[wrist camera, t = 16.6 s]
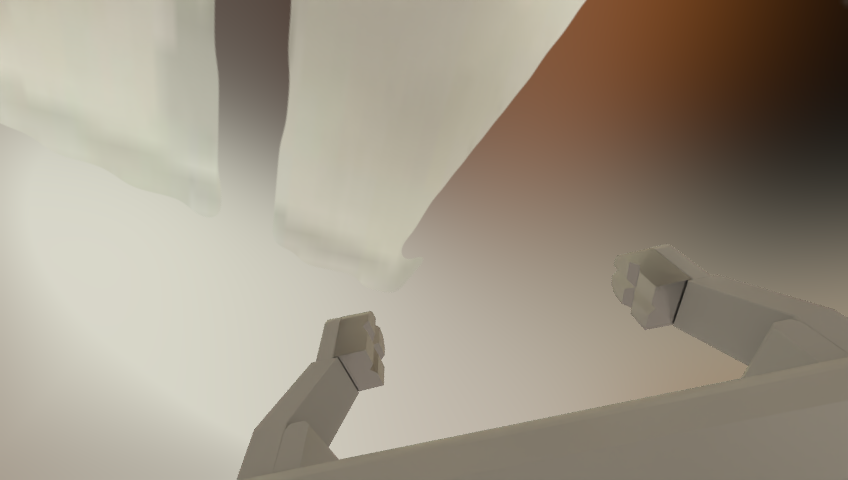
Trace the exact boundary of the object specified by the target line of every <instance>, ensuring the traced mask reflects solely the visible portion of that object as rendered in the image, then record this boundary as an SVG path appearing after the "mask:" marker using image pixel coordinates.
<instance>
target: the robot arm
mask: <svg viewBox="0 0 848 480" xmlns="http://www.w3.org/2000/svg"><path fill="white" fill-rule="evenodd" d="M614 266H615V267H616V268H617V269H618V270H617V271H616V272H615V273H614V275H613V276H612V287H613V291H614V293H615V295H616V297H617V298H618V299H619V301H620V302H621V303H622V304H624V305H627V306H629V307H631V315H632V316H633V317H634V318H635V319H636V320H637V321H638V323H639V324H640V325H641V326H642V327H643V328H644V329H645V330H646V329H652V328H657V327H663V326H668V325H673V324H674V325H673V326H674V327H676V328H678V329H680V330H682V331H684V332H686V333H688V334H690V335H691V336H693V337H695V338H697V339H699V340H701V341H703V342H705V343H706V344H708V345H710V346H712V347H714V348H716V349H718V350H720V351H721V352H723V353H725V354H727V355H729V356H731V357H733V358H735V359H736V360H739V361H740V362H742V363H744V364H746V365H748V367H747V369H746V371H745V372H744V374H743V376H742V378H741V379H736V380H731V381H726V382H721V383H716V384H711V385H706V386H701V387H696V388H692V389H686V390H681V391H676V392H671V393H666V394H661V395H657V396H651V397H647V398H642V399H637V400H632V401H627V402H622V403H617V404H612V405H607V406H602V407H597V408H592V409H588V410H582V411H577V412H572V413H567V414H563V415H558V416H553V417H548V418H543V419H538V420H533V421H528V422H523V423H519V424H513V425H509V426H503V427H499V428H494V429H489V430H484V431H479V432H474V433H469V434H464V435H459V436H454V437H450V438H444V439H439V440H434V441H429V442H425V443H419V444H415V445H410V446H405V447H400V448H395V449H390V450H385V451H380V452H375V453H370V454H365V455H360V456H355V457H350V458H345V459H340V460H339V459H338V458H337V457H336V456H335V455H334V454H333V452H332V451H331V450H330V449H329V445H330V444H331V442H332V440H333V438H334V436H335V435H336V433H337V431H338V429H339V427H340V426H341V424H342V422H343V420H344V419H345V417H346V415H347V413H348V411H349V409H350V408H351V406H352V404H353V402H354V400H355V399H356V397H357V395H358V393H359V392H358V391H362V390H366V389H370V388H374V387H378V386H382V385H384V365H383V363H382V361H381V359H382V358H383V356H384V353H385V351H384V350H385V347H384V339H383V335H382V332H381V330H380V328H379V327H378V326H376V325H375V320H376V319H375V316H374V314H373V312H371V311H369V312H364V313H359V314H354V315H348V316H344V317H341V318H335V319H330V320H327V322H326V323H325V326H324V330H323V334H322V338H321V343H320V347H319V351H318V355H317V360H316V362H313V363H311V364H310V365H309V367H308V368H307V369H306V370H305V371H304V372H303V373H302V375H301V376H300V377H299V378H298V379H297V380H296V382H295V383H294V384H293V385H292V386H291V388H290V389H289V390H288V391H287V392H286V393H285V394H284V396H283V397H282V398H281V399H280V400H279V401H278V403H277V404H276V405H275V406H274V407H273V408H272V410H271V411H270V412H269V413H268V414H267V415H266V417H265V418H264V419H263V420H262V421H261V422H260V424H259V425H258V426H257V427H256V428H255V429H254V432H253V435H252V438H251V441H250V443H249V446H248V449H247V452H246V455H245V457H244V460H243V463H242V466H241V469H240V471H239V474H238V478H237V480H848V318H847V317H846V316H844V315H842V314H841V313H839V312H837V311H836V310H834V309H832V308H829V307H825V306H822V305H818V304H815V303H812V302H808V301H805V300H801V299H798V298H795V297H792V296H788V295H785V294H781V293H778V292H775V291H771V290H768V289H764V288H761V287H758V286H754V285H751V284H747V283H745V282H741V281H738V280H734V279H731V278H728V277H724V276H721V275H718V274H716V275H710V274H709V273H708V272H706V271H705V270H704V269H702V268H701V267H700V266H698V265H697V264H695V263H694V262H693V261H691V260H690V259H689V258H688V257H686V256H685V255H683V254H682V253H681V252H679V251H678V250H677V249H675V248H674V247H672V246H671V245H667V244H664V245H660V246H656V247H652V248H649V249H643V250H639V251H635V252H631V253H627V254H622V255H618V256H617V257H616V259H615V262H614Z"/></svg>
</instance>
